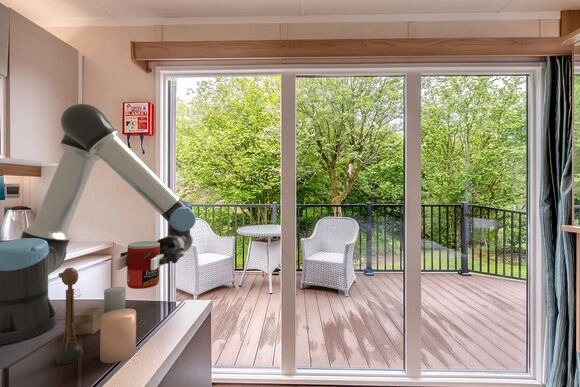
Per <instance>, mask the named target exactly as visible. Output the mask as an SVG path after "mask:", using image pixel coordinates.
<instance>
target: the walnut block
mask: <svg viewBox="0 0 580 387" xmlns="http://www.w3.org/2000/svg"><path fill="white" fill-rule="evenodd" d="M103 314H104V306H103V307H85V308H83V309H81V310H79V311H78V312H76V313H74V326H75V334H76V335H94V334H95V333H96V332H97V331H100V317H101V316H102V315H103Z"/></svg>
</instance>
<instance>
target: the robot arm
mask: <svg viewBox="0 0 580 387" xmlns="http://www.w3.org/2000/svg"><path fill="white" fill-rule="evenodd" d="M60 125H61V128H62V130H63V132H64V134H63V137H62V139H61V141H60V146H61V148H62V149H63V152H62V155H61V157H60V160H59V162H58V165H57V166H56V169H55V172H54V174H53V176H52V179H51V181H50V184H49V186H48V189H47V191H46V193H45V196H44V197H43V200H42V203H41V205H40V208H39V210H38V212H37V214H36V217H35V219H34V221H33V224H32V225H30V226H29V227H26V228H24V229H23V232H22V234H21V236H20V238H17V239H16V238H15V239H10V240H8V241H2V242H0V345H6V344H10V343H12V344H13V343H16V342H21V341H24V340H25V341H26V340H27V339H30V338H33V337H36V336H38V335H42V334H43V333H46V332H48V331H49V330H51V329H52V328H54V327H55V326H56V324H57V313H56V312H55V309H54V306H53V304H52V302H51V299H50V297H49V275H50V274H51V273H53V272H55V271H56V270H58V269H59V268H60V267H61V265H62V264H64V262H65V260H66V257H67V248H68V245H69V243H70V240H71V236H70V235H69V232H68V230H69V227H70V225H71V222H72V220H73V218H74V215H75V212H76V210H77V208H78V206H79V203H80V200H81V198H82V195H83V193H84V190H85V187H86V185H87V183H88V180H89V177H90V175H91V172H92V171H93V168H94V166H95V163H96V162H97V161H101V160H102V161H103V162H105V164H107V165H108V166H109V167H110V168H111V169H112V170H113V171H114V172H115V173H116V174H117V175H118V176H119V177H120V178H121V179H123V181H124V182H126V183H127V184H128V185H129V186H130V187H131V188H132V189H133V190H134V191H135V192H136V193H137V194H138V195H140V197H142V198H143V199H144V200H145V201H146V202H147V203H148V204H149V205H150V206H151V207H152V208H153V209H154V210H155V211H156V212H158V214H160V215H161V216H162V217H163V219H165V220H166V221H167V235H166V236H165V237H162V238H160V239H158V240H156V242H159V243H160V255H159V256H157V257H155V258H153V259H151V270H155V269H157V268H158V267H159V268H161V267H162V266H163V265H167V264H170V262H171V263H172V264H177V263H178V262H179V260H180V259H181V258H182V257H184V253H186V252H187V251H188V250H189V249H190V248H191V247H192V245H193V242H194V240H193V239H194V238H193V236H192V234H191V229H192V228H193V227H194V226H195V224H196V222H197V217H196V213H195V211H194V210H193V209H192V207H191V201H190V200H189V199H181V198H180V197H178V195H177V194H176V193H175V192H174V191H173V190H172V189H171V188H170V187H169V186H167V184H166V183H165V182H164V181H163V180H162V179H161V178H160V177H159V176H158V175H157V174H156V173H155V172H154V171H153V170H152V169H150V167H149V166H148V165H146V163H145V162H143V160H142V159H141V158H140V157H138V156H137V154H135V152H134V151H133V150H132V149H131V148H130V147H129V146H128V145H127V144H126V143H125V142H123V140H121V138H120V136H119V134H120V133H119V132H118V131H117V129H116V128H115V127H114V126H113V125H112V124H111V122H110V120H108V118H107V116H106V115H105V114H104V113H103V112H102V110H100V108H97V107H96V106H94V105H91V104H86V103H77V104H76V103H75V104H73V105H70V106H68V107H67V108H66V109H65V110H64V111H63V113H62V114H61V117H60ZM124 268H127V251H124V252H121V253H120V257H118V258H116V259H115V270H116V271H120V270H122V269H124ZM53 326H54V327H53Z"/></svg>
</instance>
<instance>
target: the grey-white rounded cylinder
mask: <svg viewBox="0 0 580 387" xmlns="http://www.w3.org/2000/svg"><path fill="white" fill-rule="evenodd" d="M126 300H127V298H126V287H125V286H112V287H109V288H105V289H104V290H103V307H104V314H105V313H107V312H110V311H113V310H118V309H126Z"/></svg>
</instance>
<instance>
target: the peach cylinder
mask: <svg viewBox="0 0 580 387" xmlns="http://www.w3.org/2000/svg"><path fill="white" fill-rule="evenodd" d="M99 332H100V334H99V335H100V336H99V337H100V338H99V346H100V347H99V360H100V362H101V363H105V364H116V363H120V362H124V361H126V360H128V359H130V358H132V357H133V356H134V355H135V354H136V351H137V350H136V349H137V311H136V310H135V309H133V308H125V309H118V310H113V311H110V312H107V313H105V314H103V315H102V316H101V317H100V329H99Z"/></svg>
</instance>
